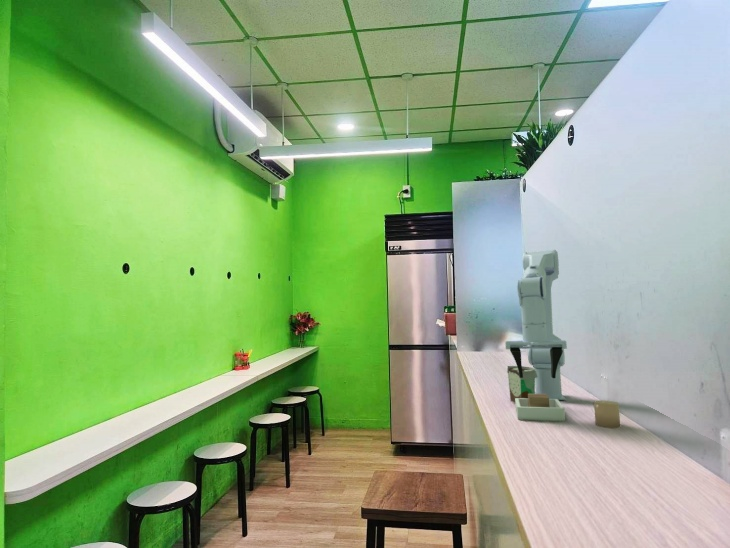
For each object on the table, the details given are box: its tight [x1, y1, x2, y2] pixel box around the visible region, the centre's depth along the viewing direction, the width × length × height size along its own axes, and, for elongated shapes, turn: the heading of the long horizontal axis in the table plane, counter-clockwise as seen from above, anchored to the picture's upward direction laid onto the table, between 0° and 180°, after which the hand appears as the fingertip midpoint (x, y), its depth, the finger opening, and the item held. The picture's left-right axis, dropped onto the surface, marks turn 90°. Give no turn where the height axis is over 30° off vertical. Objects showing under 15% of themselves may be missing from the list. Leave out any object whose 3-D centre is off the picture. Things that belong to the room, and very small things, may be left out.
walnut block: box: [528, 394, 549, 407], centre depth 110 cm, size 4×4×4 cm
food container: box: [506, 365, 537, 405], centre depth 123 cm, size 12×6×10 cm, turn 179°
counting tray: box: [514, 398, 566, 422], centre depth 110 cm, size 11×11×3 cm
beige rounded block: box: [593, 400, 621, 429], centre depth 100 cm, size 5×5×5 cm
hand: (537, 377), depth 111 cm, fingers open, 7 cm apart
